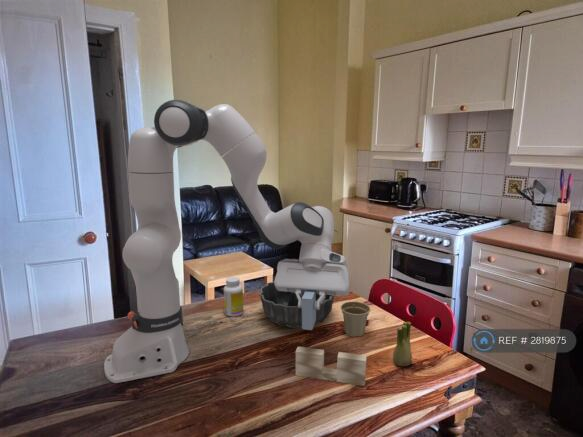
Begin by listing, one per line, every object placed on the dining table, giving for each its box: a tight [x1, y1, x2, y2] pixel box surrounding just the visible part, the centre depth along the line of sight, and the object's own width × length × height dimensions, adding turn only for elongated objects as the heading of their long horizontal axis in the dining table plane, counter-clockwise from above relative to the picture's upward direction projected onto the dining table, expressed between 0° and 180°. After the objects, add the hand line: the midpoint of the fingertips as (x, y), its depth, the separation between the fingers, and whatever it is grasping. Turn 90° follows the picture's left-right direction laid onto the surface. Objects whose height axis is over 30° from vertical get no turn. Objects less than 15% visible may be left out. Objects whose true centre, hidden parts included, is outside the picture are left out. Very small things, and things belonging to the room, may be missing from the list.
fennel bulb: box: [392, 321, 413, 367], centre depth 104 cm, size 6×5×12 cm
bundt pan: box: [258, 280, 336, 329], centre depth 132 cm, size 26×26×10 cm
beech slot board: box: [295, 346, 367, 387], centre depth 98 cm, size 18×2×7 cm, turn 76°
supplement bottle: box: [223, 276, 244, 317], centre depth 134 cm, size 7×7×13 cm
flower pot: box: [340, 300, 371, 337], centre depth 121 cm, size 9×9×9 cm
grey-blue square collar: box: [301, 290, 316, 331], centre depth 98 cm, size 6×3×8 cm, turn 166°
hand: (308, 308), depth 97 cm, fingers closed on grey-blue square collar, 3 cm apart
